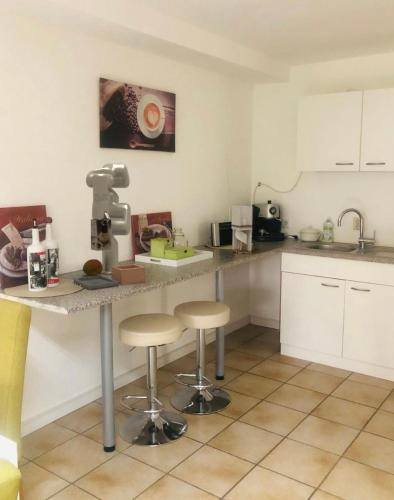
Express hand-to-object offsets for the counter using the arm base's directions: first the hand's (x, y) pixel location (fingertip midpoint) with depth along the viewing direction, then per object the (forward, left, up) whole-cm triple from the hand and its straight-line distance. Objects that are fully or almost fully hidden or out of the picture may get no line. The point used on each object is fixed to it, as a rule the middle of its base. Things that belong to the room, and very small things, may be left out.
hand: (101, 232), depth 259 cm
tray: (-1, -3, -28) cm, 28 cm away
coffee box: (0, 0, -10) cm, 10 cm away
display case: (-36, +134, -28) cm, 141 cm away
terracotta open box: (+2, +15, -28) cm, 32 cm away
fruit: (-22, +5, -28) cm, 36 cm away
